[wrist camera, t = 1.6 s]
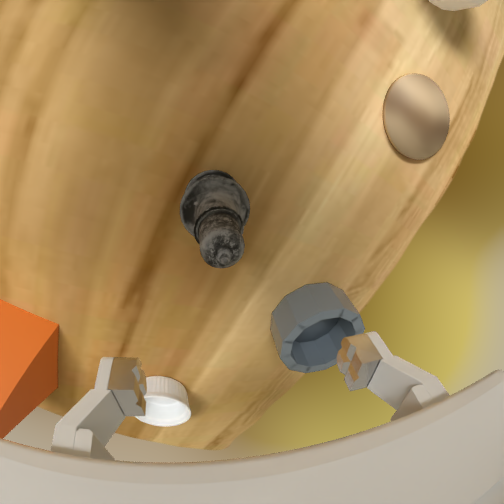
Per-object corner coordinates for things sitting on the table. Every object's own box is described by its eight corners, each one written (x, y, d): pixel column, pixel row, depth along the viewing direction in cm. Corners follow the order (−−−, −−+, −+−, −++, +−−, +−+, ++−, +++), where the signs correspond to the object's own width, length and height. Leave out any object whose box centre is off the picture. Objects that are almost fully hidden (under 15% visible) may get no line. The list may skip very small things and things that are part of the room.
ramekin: (137, 404, 41) (136, 426, 38) (127, 371, 37) (123, 395, 33) (191, 404, 43) (193, 426, 39) (188, 372, 39) (189, 396, 35)
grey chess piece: (254, 205, 29) (290, 272, 19) (203, 236, 29) (211, 316, 19) (223, 154, 26) (244, 195, 16) (169, 189, 26) (153, 251, 16)
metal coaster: (386, 63, 23) (389, 63, 23) (449, 86, 25) (452, 86, 25) (378, 153, 28) (380, 154, 28) (440, 163, 30) (443, 164, 29)
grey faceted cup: (274, 287, 34) (286, 315, 30) (354, 279, 36) (373, 303, 32) (268, 349, 39) (276, 377, 35) (337, 339, 41) (351, 364, 37)
